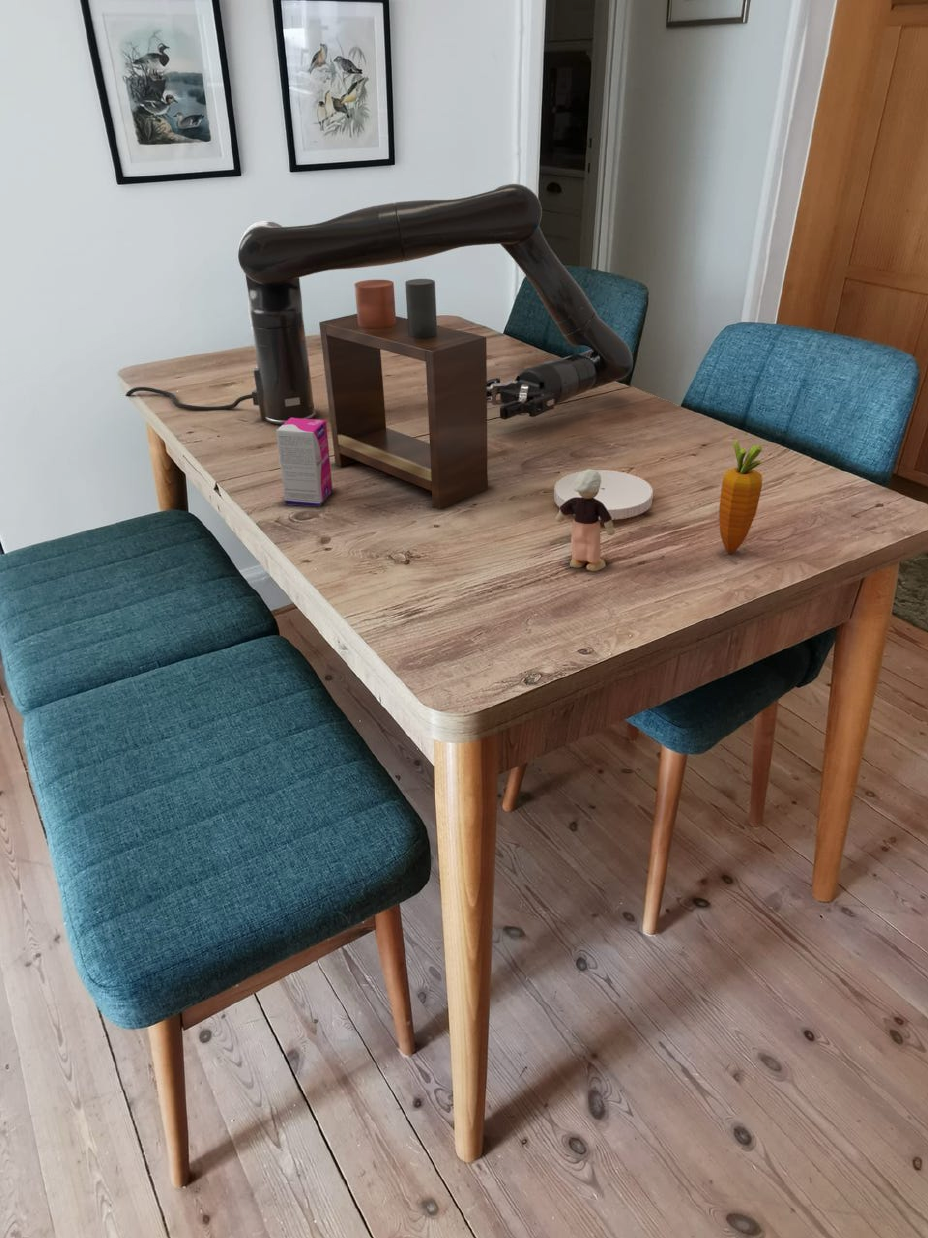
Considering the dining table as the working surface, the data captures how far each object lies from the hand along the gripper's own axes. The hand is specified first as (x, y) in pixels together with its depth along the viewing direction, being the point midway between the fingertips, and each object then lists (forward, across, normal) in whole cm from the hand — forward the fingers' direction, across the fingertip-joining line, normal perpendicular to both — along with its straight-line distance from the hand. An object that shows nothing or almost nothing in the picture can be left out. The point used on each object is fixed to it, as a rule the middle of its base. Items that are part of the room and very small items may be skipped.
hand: (482, 407), depth 137 cm
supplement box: (+32, -5, +7) cm, 33 cm away
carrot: (+5, +50, +7) cm, 51 cm away
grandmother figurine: (+20, +38, +7) cm, 43 cm away
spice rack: (+17, 0, +7) cm, 18 cm away
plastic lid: (+5, +29, +7) cm, 30 cm away
